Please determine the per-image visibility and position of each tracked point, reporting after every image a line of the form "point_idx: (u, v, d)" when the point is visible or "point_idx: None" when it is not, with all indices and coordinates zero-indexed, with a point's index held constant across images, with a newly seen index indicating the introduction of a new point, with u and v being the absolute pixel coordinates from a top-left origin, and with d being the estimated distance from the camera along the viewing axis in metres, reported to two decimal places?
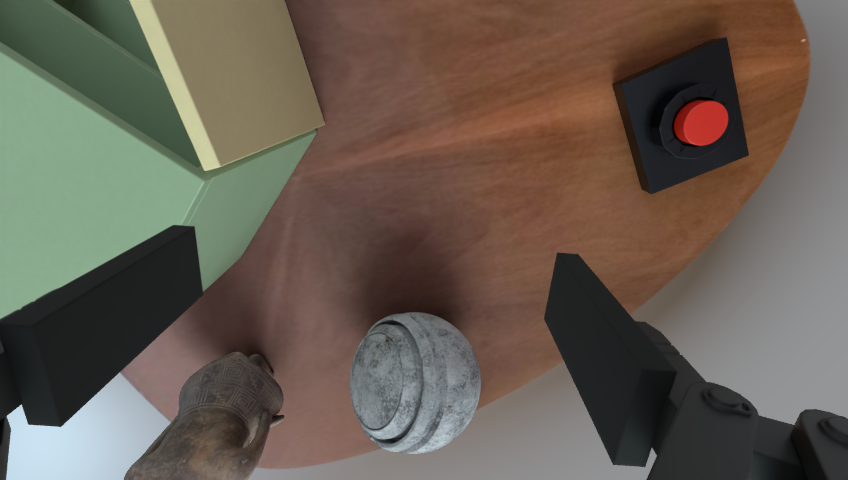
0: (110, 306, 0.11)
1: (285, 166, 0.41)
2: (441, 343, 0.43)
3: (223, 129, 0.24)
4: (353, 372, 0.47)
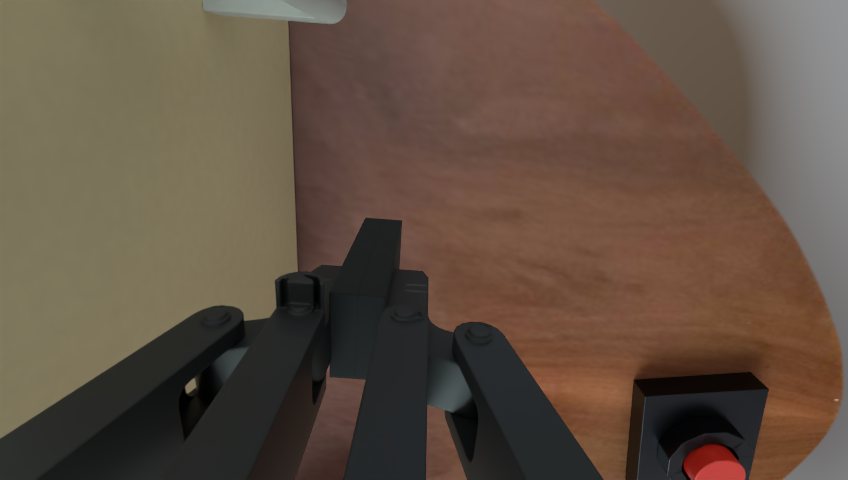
0: None
1: None
2: None
3: None
4: None
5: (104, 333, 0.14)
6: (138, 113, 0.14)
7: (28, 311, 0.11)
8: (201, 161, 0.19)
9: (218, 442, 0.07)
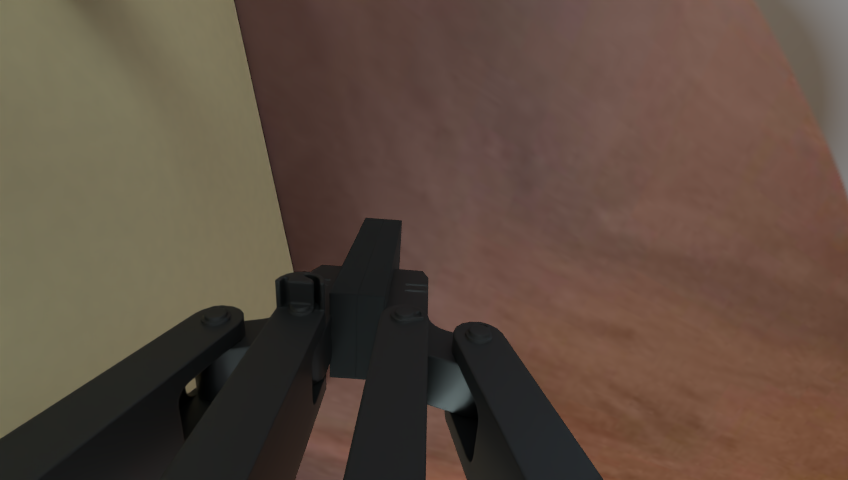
0: None
1: None
2: None
3: None
4: None
5: None
6: None
7: None
8: (85, 226, 0.11)
9: (218, 442, 0.07)
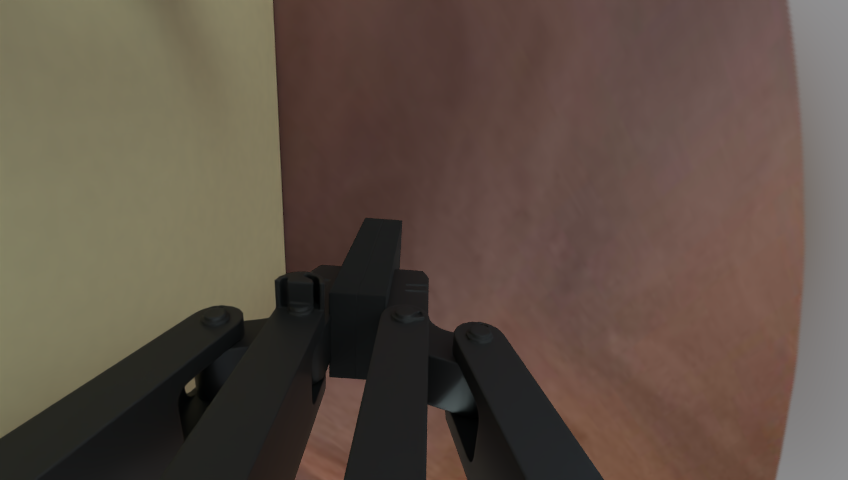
0: None
1: None
2: None
3: None
4: None
5: None
6: None
7: None
8: (106, 202, 0.10)
9: (218, 442, 0.07)
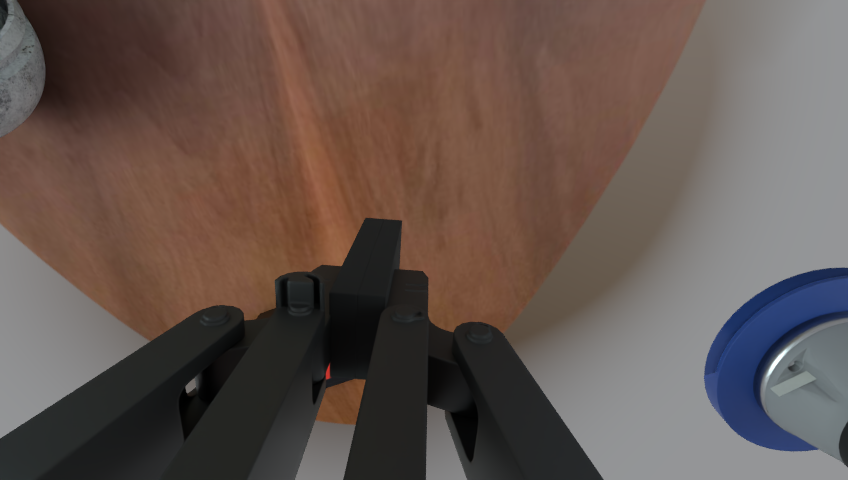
0: None
1: None
2: None
3: None
4: None
5: None
6: None
7: None
8: None
9: (218, 442, 0.07)
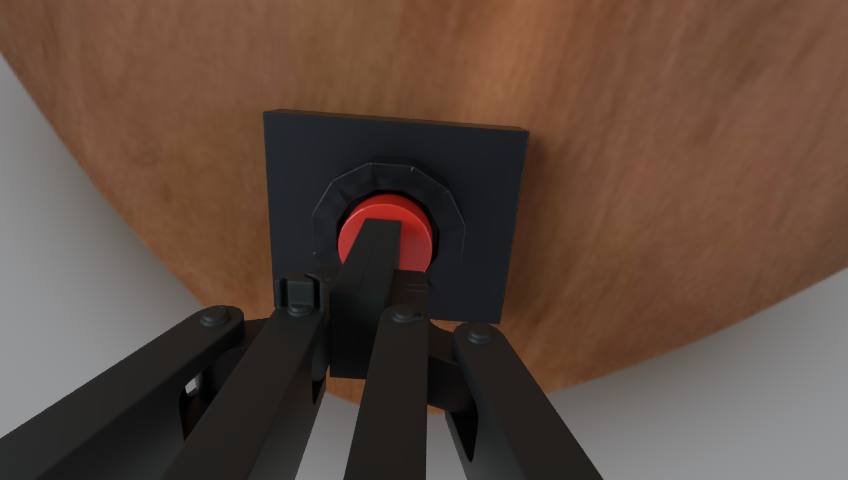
0: None
1: None
2: None
3: None
4: None
5: None
6: None
7: None
8: None
9: (218, 442, 0.07)
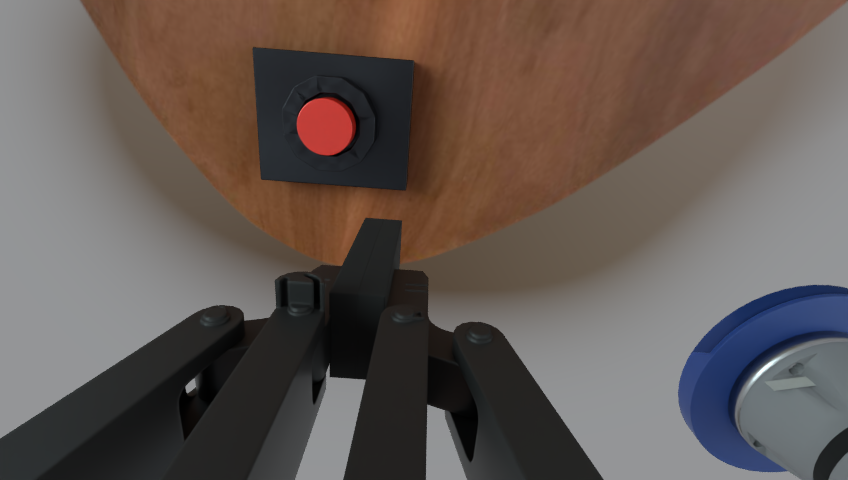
0: None
1: None
2: None
3: None
4: None
5: None
6: None
7: None
8: None
9: (218, 442, 0.07)
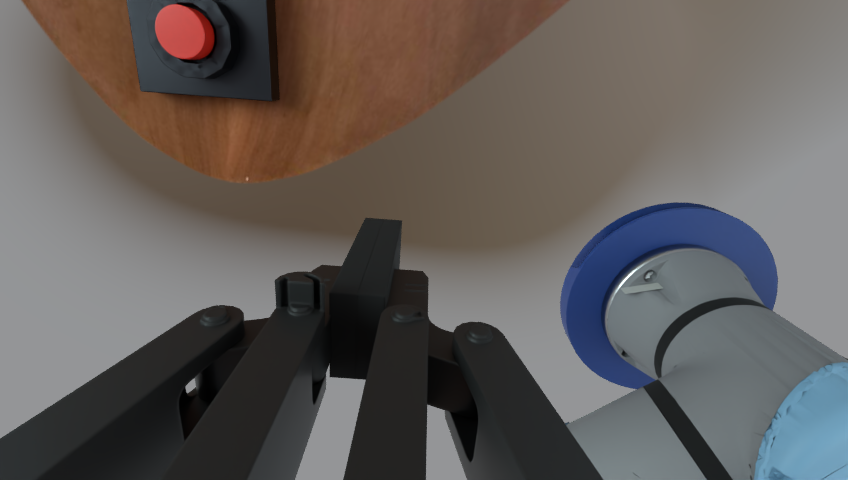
0: None
1: None
2: None
3: None
4: None
5: None
6: None
7: None
8: None
9: (218, 442, 0.07)
